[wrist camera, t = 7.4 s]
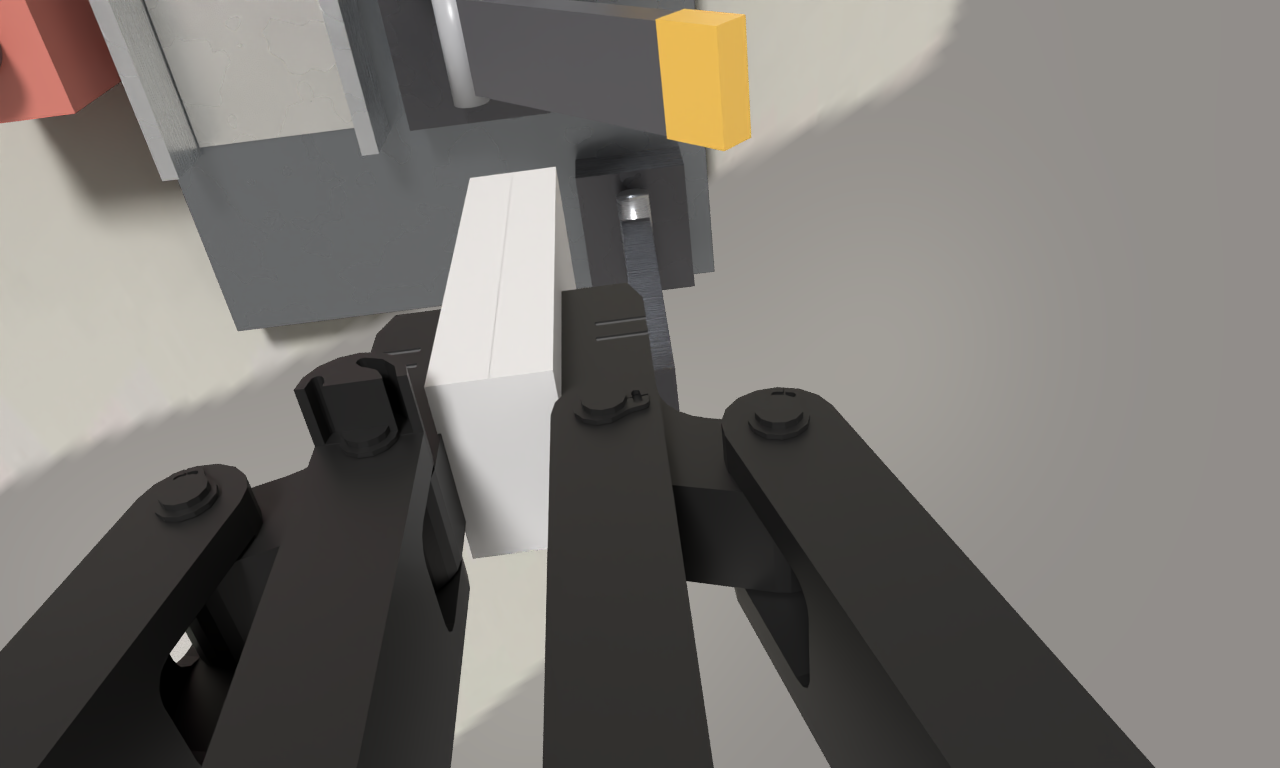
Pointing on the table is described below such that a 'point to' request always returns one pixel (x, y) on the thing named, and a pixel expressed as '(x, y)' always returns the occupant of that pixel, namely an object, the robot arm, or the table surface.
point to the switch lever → (603, 64)
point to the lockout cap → (51, 59)
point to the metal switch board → (381, 159)
